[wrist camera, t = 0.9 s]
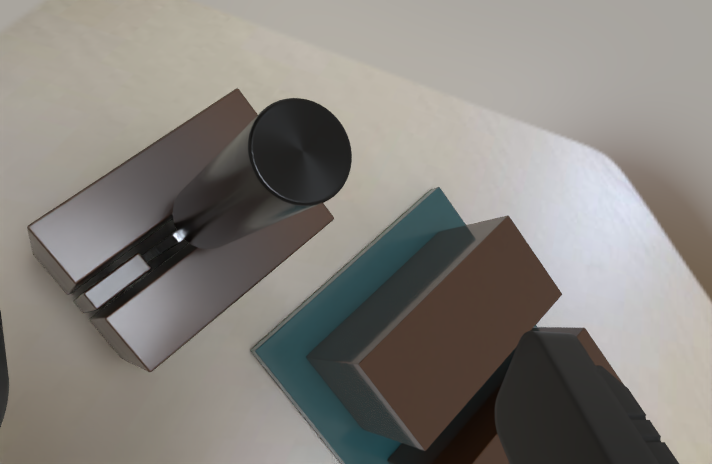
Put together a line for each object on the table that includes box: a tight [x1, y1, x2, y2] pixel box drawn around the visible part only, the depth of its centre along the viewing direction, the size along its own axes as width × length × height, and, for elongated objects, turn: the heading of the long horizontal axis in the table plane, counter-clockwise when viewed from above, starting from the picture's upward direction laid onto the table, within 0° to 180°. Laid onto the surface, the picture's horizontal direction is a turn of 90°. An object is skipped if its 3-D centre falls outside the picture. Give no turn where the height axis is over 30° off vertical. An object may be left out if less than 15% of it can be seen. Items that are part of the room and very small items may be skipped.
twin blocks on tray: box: [251, 187, 624, 464], centre depth 37 cm, size 16×18×8 cm
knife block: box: [27, 89, 334, 372], centre depth 30 cm, size 10×7×10 cm
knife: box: [142, 98, 352, 262], centre depth 25 cm, size 3×3×22 cm
